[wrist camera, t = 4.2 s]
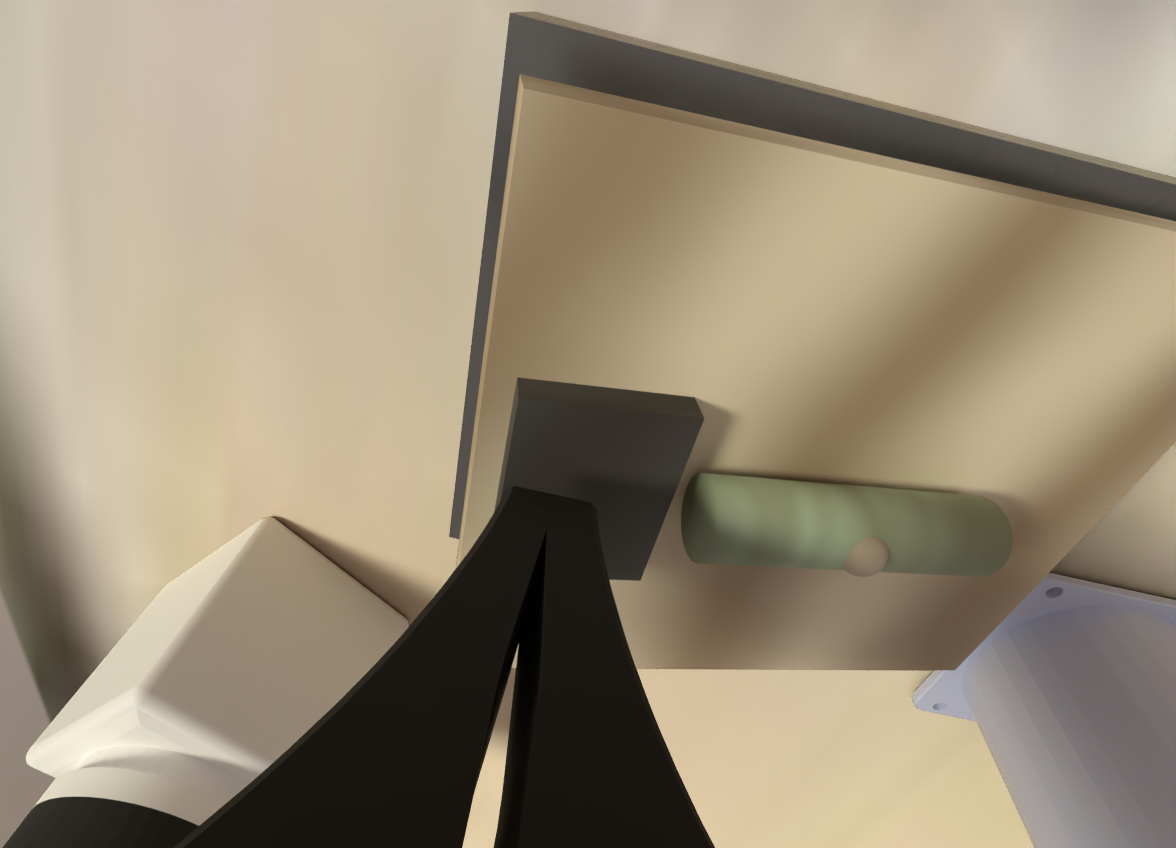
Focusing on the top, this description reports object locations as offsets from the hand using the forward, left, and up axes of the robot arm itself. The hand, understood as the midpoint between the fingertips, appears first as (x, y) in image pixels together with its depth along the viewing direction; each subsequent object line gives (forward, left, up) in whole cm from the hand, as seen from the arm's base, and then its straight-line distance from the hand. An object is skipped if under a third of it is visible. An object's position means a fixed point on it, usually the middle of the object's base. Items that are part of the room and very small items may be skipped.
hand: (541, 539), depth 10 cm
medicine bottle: (+9, +15, -9) cm, 19 cm away
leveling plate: (-5, 0, -4) cm, 6 cm away
